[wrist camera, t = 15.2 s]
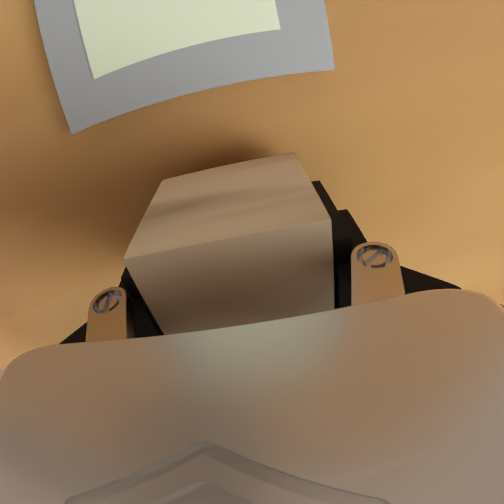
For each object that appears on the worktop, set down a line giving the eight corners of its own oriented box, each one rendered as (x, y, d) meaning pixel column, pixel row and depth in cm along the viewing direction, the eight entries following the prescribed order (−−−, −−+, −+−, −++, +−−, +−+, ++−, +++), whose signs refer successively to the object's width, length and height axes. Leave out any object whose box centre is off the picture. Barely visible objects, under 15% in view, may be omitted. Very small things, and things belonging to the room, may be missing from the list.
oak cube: (307, 260, 14) (334, 351, 10) (198, 279, 14) (188, 372, 10) (294, 152, 11) (330, 219, 7) (162, 179, 11) (122, 259, 7)
